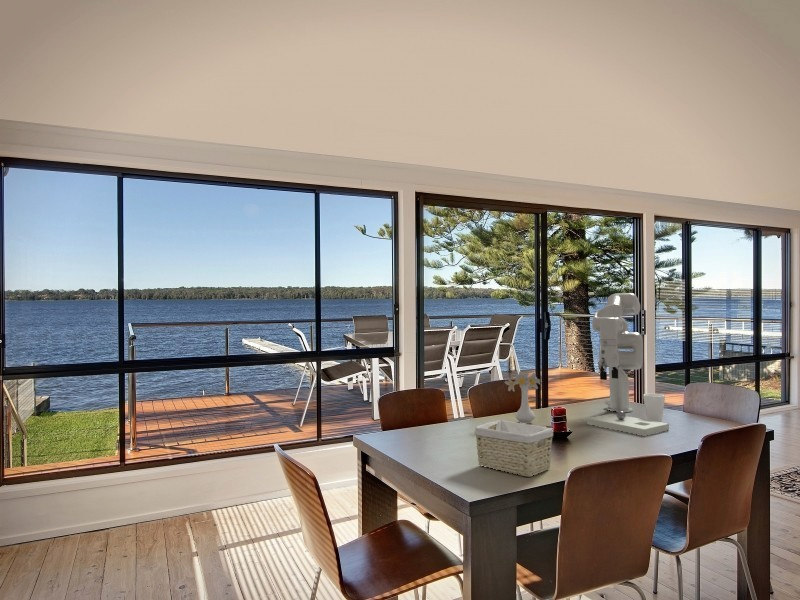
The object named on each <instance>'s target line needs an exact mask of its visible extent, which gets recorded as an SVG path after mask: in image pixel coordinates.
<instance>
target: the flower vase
mask: <svg viewBox="0 0 800 600" xmlns="http://www.w3.org/2000/svg"><path fill="white" fill-rule="evenodd" d="M506 379H507V380H505V381H504V385H507V386H508V388H507V391H508V392H510V391H513V392H515V386H516V385H519V388H520V390H521V403H520V408H519V409H518V410H517V412H516V413H515V418H516V420H517V421H518V423H519V422H521V423H531V422H532V423H533V421H534V420H535V418H536V415H535V412H534V411H533V410H532V408H531V407H530V405H529V389H532V388H534V389H535V390H538V389H539V387H538V384H539V385H541V379H540V378H538V377H537V375H536V373H535V372H534V371H532V374H531V375H530V376H529V372H528V371H527V372H524V373H523V371H521V370H520V371H518V373H517V374H516V375H515V378H514V381H513V380H512V379H510V378H509V377H508V376H506ZM532 423H531V424H532Z"/></svg>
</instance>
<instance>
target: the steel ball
mask: <svg viewBox="0 0 800 600" xmlns="http://www.w3.org/2000/svg"><path fill="white" fill-rule="evenodd" d="M616 414H617V415H616V416H617V418H618V419H619V420H623V419H625V417H626V416H627V414H626V412H622V411H619V412H616Z"/></svg>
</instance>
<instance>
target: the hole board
mask: <svg viewBox="0 0 800 600" xmlns="http://www.w3.org/2000/svg"><path fill="white" fill-rule="evenodd" d="M616 415H617V413H608V414H603V415H597V416H592V417H587V422H586V423H587V425H588V424H589V426H592V425H595V426H594V427H597V426H599V427H598V428H602V427H604V428H603V429H607V428H609V429H608V430H612V429H614V430H613V431H617V430H619V431H618V432H621V431H623V432H622V433H626V432H628V433H627V434H631V433H633V434H632V435H636V434H637V436H641V435H642V437H647V435H648V436H651V434H652V435H656V434H659V432H660V433H663V432H662V431H665V432H668V431H667V430H669V431H670V424H669V423H666V422H663V421H662V422H656V421H651V420H647V419H645V418H639V417H634V416H628V415H626V417H625V419H623V420H619V419H618V418H617V416H616ZM655 433H656V434H655Z"/></svg>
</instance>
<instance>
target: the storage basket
mask: <svg viewBox="0 0 800 600" xmlns="http://www.w3.org/2000/svg"><path fill="white" fill-rule="evenodd" d="M474 435H475V437H476V438H475V439H476V440H475V441H476V450H477V453H476V454H477V460H478V466H479V465H483V466H486V467H489V468H488V469H490V468H494V469H497V470H501V471H500V472H504V471H505V472H504V473H507V472H509V473H508V474H512V473H513V475H517V474H518V475H517V476H523V477H529V478H530V477H534V476H536V475H539V474H541V472H542V473H544V472H546V471H547V470H550V469H551V461H552V460H551V459H552V443H553V437H554V430H553V428H552V427H544V426H541V425H534V424H521V423H519V422H516V421H509V420H503V419H497V420H495V421H490V422H487V423H483V424H480V425H476V426H475V429H474ZM494 469H493V470H494ZM497 470H496V471H497ZM538 473H539V474H538ZM533 475H534V476H533Z"/></svg>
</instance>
